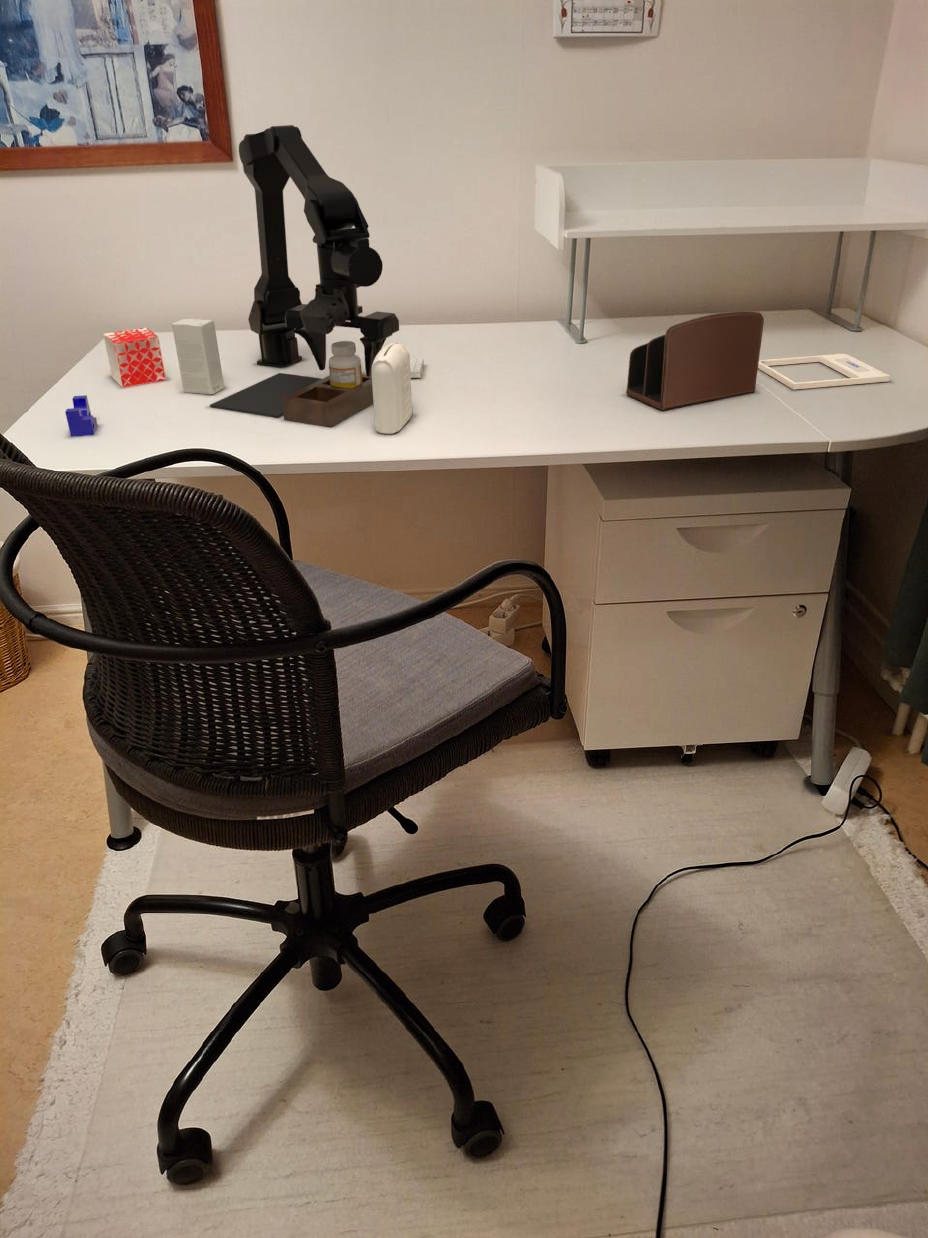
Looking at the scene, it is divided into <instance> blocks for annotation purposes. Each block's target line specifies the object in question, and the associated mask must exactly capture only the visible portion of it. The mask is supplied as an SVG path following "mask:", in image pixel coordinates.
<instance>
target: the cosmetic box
mask: <svg viewBox="0 0 928 1238" xmlns="http://www.w3.org/2000/svg"><path fill="white" fill-rule="evenodd" d="M171 328H172V332H173V337H174V343H175V349H176V354H177V361H178V367H179V373H180V378H181V384H182V390H183V392H184V393H189V394H191V393H192V394H200V395H201V394H202V395H214V394H216V393H218V392H219V391H222V390H224V389H225V383H224V376H223V370H222V363H221V358H220V352H219V343H218V337H217V332H216V331H217V330H216V325H215V321H214V319H199V318H187V317H186V318H183V319H180V320H178V321H176V322H173V323H171Z"/></svg>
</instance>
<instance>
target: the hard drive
mask: <svg viewBox="0 0 928 1238" xmlns="http://www.w3.org/2000/svg"><path fill="white" fill-rule="evenodd" d="M360 359H361V368H362V374H366V370H365V358H360ZM424 367H425V360H424V358H410V371H411V379H421V378H422V374H423V372H424Z"/></svg>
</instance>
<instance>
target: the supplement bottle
mask: <svg viewBox="0 0 928 1238" xmlns="http://www.w3.org/2000/svg"><path fill="white" fill-rule="evenodd" d="M330 346H331V354H332V356H331V357H329V359H328V372H329V373H328V374H329V375H330V384H331V385H332V386H339V387H346V388H354V387H356V386H358V385H360V384H362V383H363V382H362V368H361V359H362V358H361V357H360V356H359V355H357V354H356V353H357V346H356V342H354V341H352V340H339V341H335V342H332V343H331V345H330Z"/></svg>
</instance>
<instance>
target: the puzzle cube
mask: <svg viewBox="0 0 928 1238" xmlns="http://www.w3.org/2000/svg"><path fill="white" fill-rule="evenodd" d="M102 334H103V340H104V345H105V349H106V353H107V355H106V356H107V359H108V363H109V369H110V374H111V377H112V378H113V379H114V381H115V382H117V384H119V385H120V386H121V388H128V387H129V388H130V387H134V386H140V385H145V384H152V383H159V382H163V381H166V380H167V377H166V371H165V366H164V360H163V355H162V349H161V343H160V338H159V337H160V336H158V335H157V334H156V333H155V332H153V331H152V330H150V329H149V328H148V327H141V328H134V329H127V330H121V331H114V332H107V333H102Z"/></svg>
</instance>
